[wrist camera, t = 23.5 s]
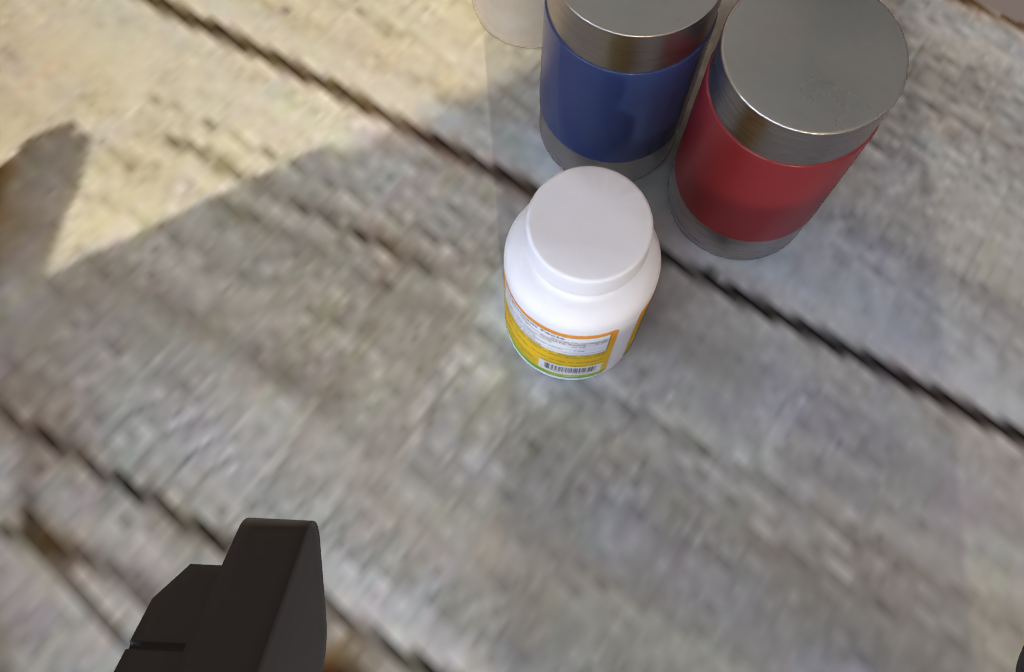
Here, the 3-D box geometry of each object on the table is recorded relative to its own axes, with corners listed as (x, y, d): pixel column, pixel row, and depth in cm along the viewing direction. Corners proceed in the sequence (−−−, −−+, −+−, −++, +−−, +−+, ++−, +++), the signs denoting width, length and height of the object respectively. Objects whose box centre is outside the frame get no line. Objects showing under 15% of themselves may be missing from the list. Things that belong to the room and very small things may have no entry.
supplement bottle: (582, 235, 38) (604, 113, 29) (662, 332, 37) (712, 238, 28) (478, 306, 38) (467, 204, 28) (558, 409, 36) (573, 338, 27)
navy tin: (511, 141, 40) (511, -18, 30) (584, 40, 41) (607, -144, 31) (632, 211, 39) (673, 69, 29) (702, 104, 40) (764, -65, 30)
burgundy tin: (639, 215, 39) (684, 75, 29) (709, 108, 40) (775, -60, 30) (767, 288, 38) (858, 170, 28) (833, 176, 39) (943, 25, 29)
